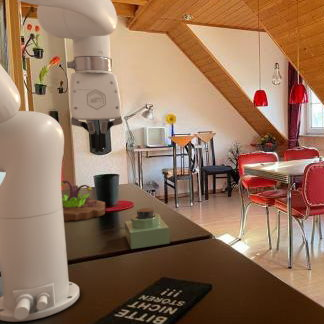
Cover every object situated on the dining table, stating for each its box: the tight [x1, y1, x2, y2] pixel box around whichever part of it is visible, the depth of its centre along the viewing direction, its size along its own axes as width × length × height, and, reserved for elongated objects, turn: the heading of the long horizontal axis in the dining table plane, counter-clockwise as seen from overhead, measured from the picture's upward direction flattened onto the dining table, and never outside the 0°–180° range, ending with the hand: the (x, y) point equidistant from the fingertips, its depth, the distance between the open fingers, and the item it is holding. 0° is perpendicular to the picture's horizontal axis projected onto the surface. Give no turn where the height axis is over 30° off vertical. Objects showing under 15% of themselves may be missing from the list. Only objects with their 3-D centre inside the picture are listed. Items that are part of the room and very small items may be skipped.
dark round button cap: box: [136, 207, 155, 219], centre depth 96 cm, size 4×4×2 cm
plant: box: [61, 180, 106, 222], centre depth 125 cm, size 20×20×11 cm
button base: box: [124, 212, 171, 250], centre depth 96 cm, size 11×9×6 cm
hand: (99, 151), depth 86 cm, fingers closed
